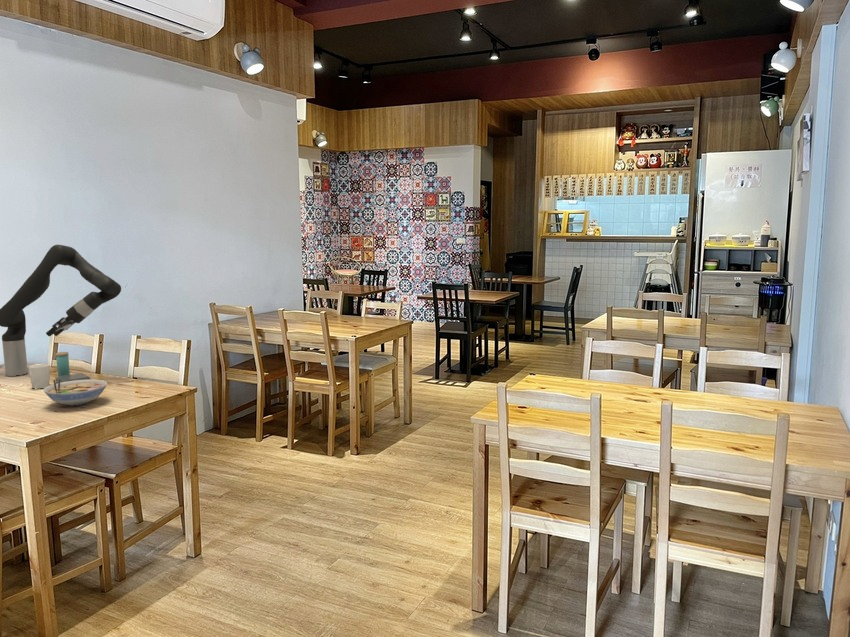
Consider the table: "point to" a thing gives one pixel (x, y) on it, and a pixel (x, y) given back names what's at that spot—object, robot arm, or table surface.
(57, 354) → the tea canister
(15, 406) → the table surface
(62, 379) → the slate plinth
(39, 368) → the white cup
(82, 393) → the ramen bowl
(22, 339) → the robot arm
